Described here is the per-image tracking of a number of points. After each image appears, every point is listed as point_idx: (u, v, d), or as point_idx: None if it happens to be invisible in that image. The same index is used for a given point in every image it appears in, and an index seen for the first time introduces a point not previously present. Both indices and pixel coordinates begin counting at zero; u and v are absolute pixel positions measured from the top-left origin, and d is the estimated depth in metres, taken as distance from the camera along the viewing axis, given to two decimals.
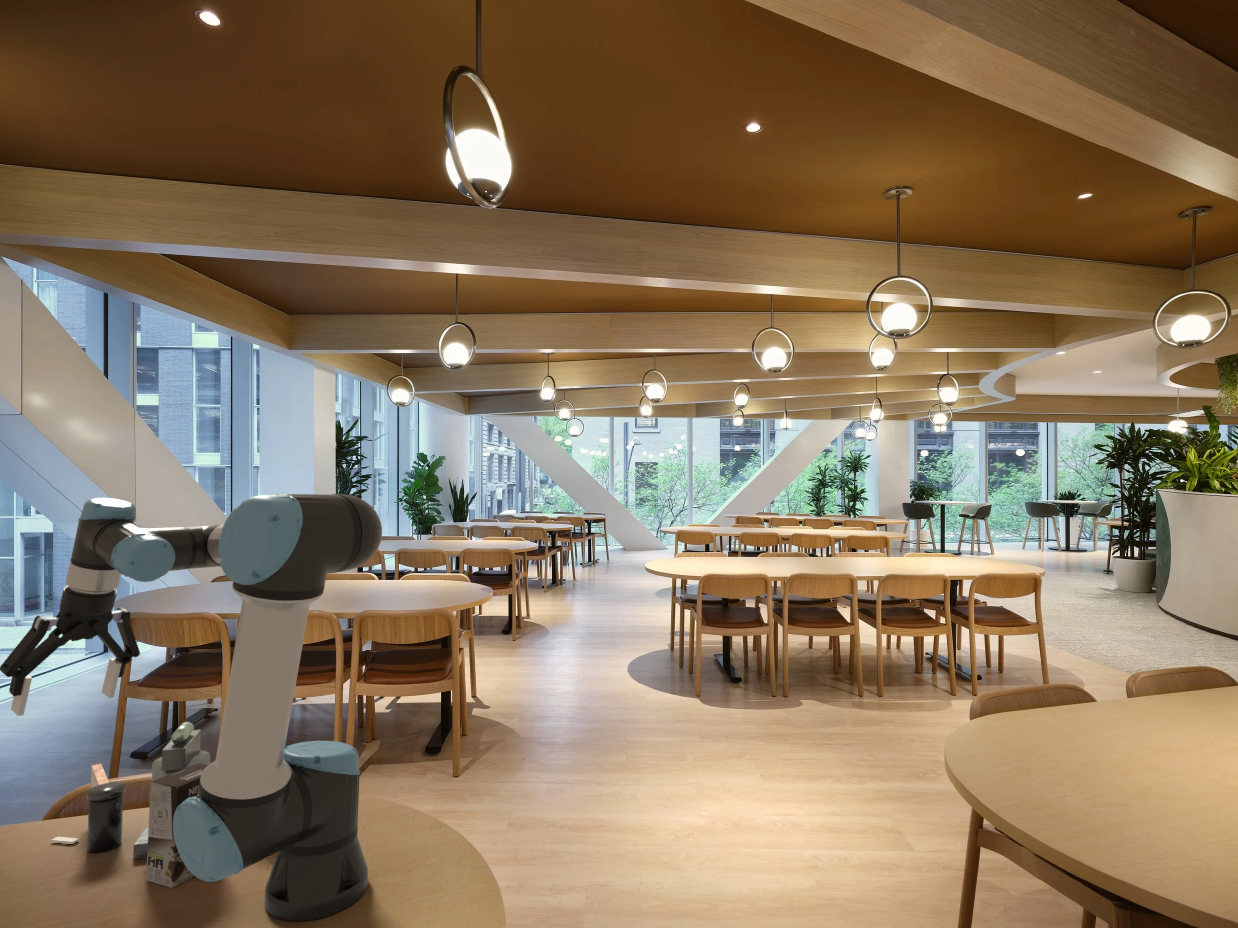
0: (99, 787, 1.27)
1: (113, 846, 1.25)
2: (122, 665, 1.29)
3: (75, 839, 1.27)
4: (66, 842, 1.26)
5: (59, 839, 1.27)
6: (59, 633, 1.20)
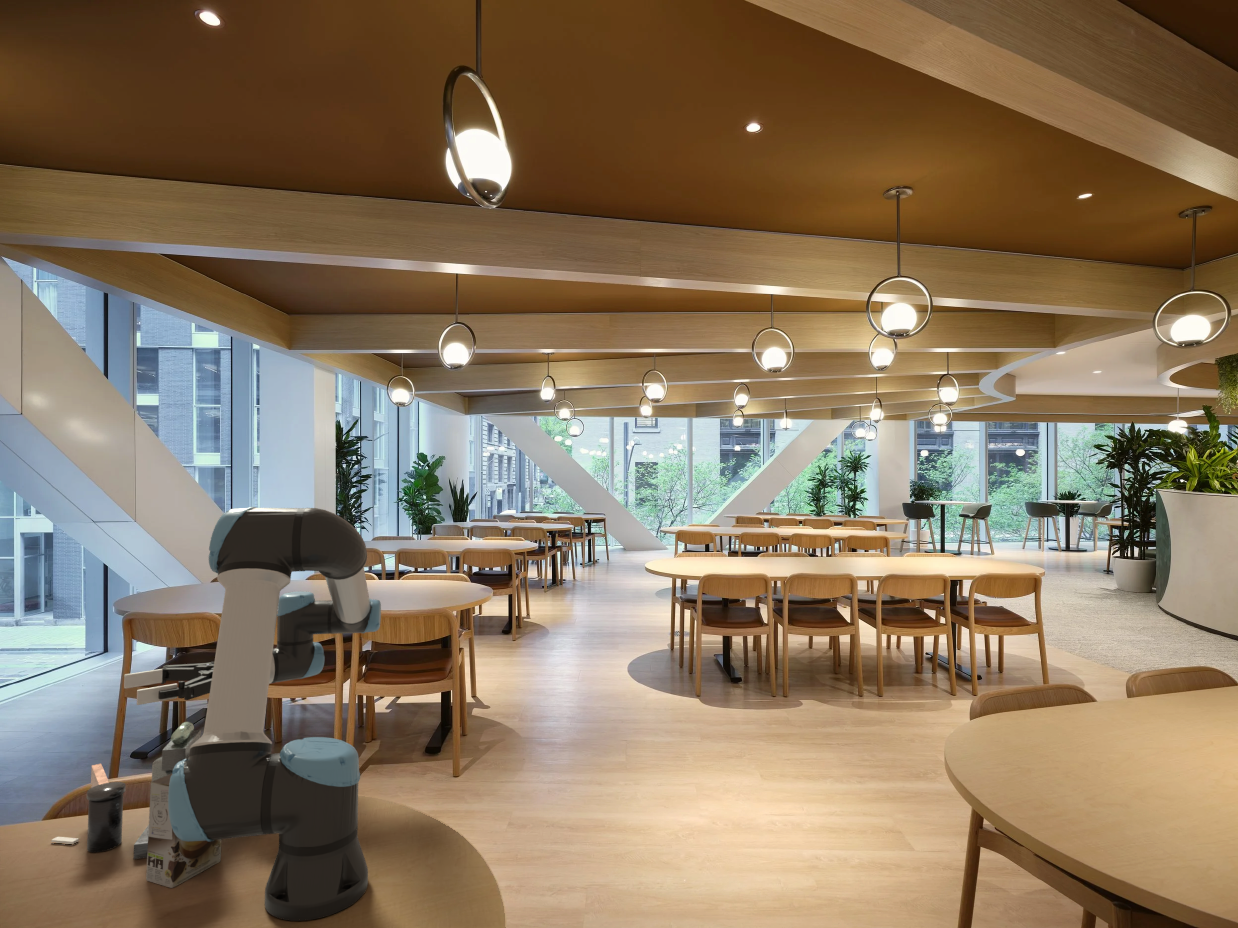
0: (99, 787, 1.27)
1: (113, 846, 1.25)
2: (173, 689, 1.37)
3: (75, 839, 1.27)
4: (66, 842, 1.26)
5: (59, 839, 1.27)
6: None
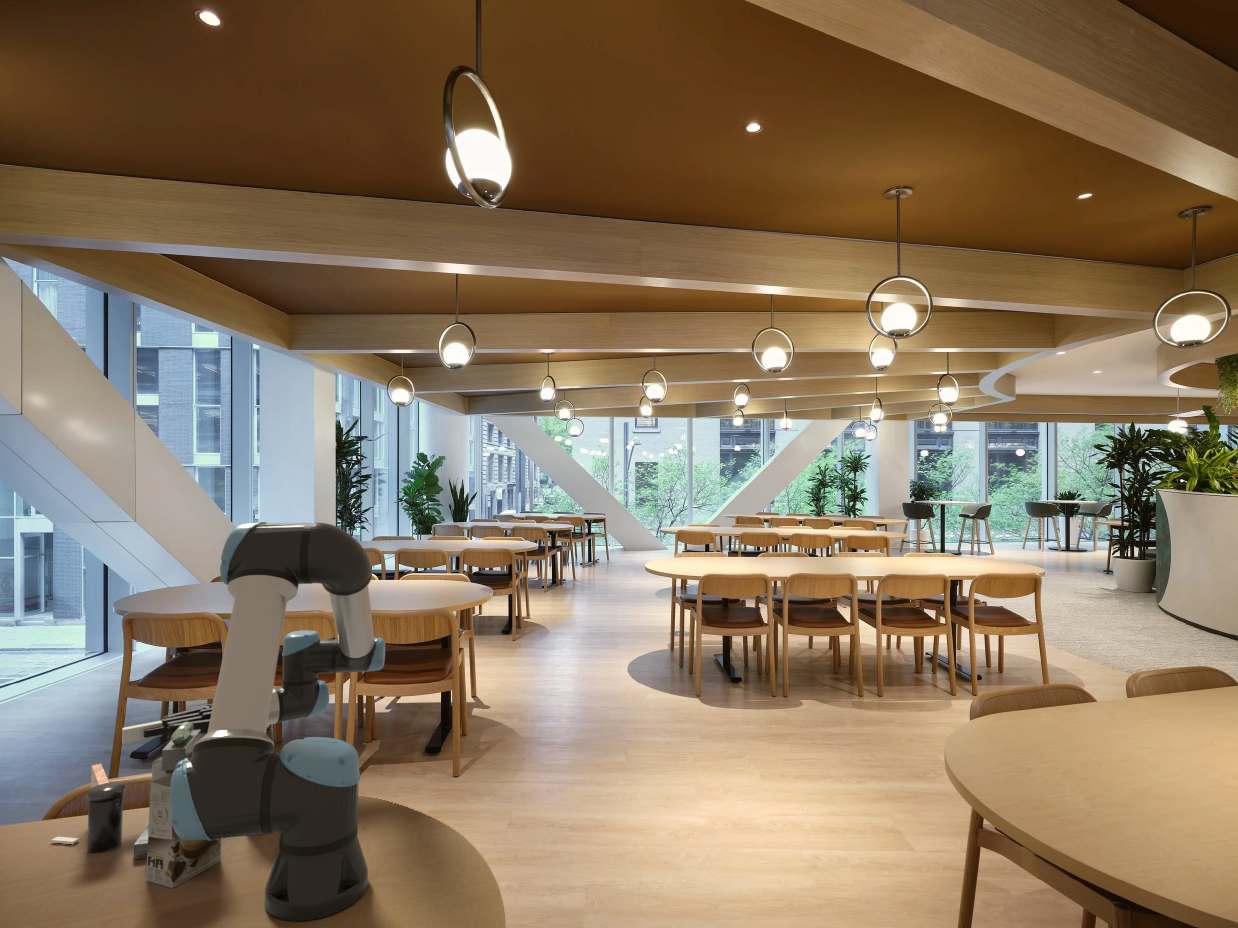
0: (99, 787, 1.27)
1: (113, 846, 1.25)
2: (158, 727, 1.41)
3: (75, 839, 1.27)
4: (66, 842, 1.26)
5: (59, 839, 1.27)
6: None
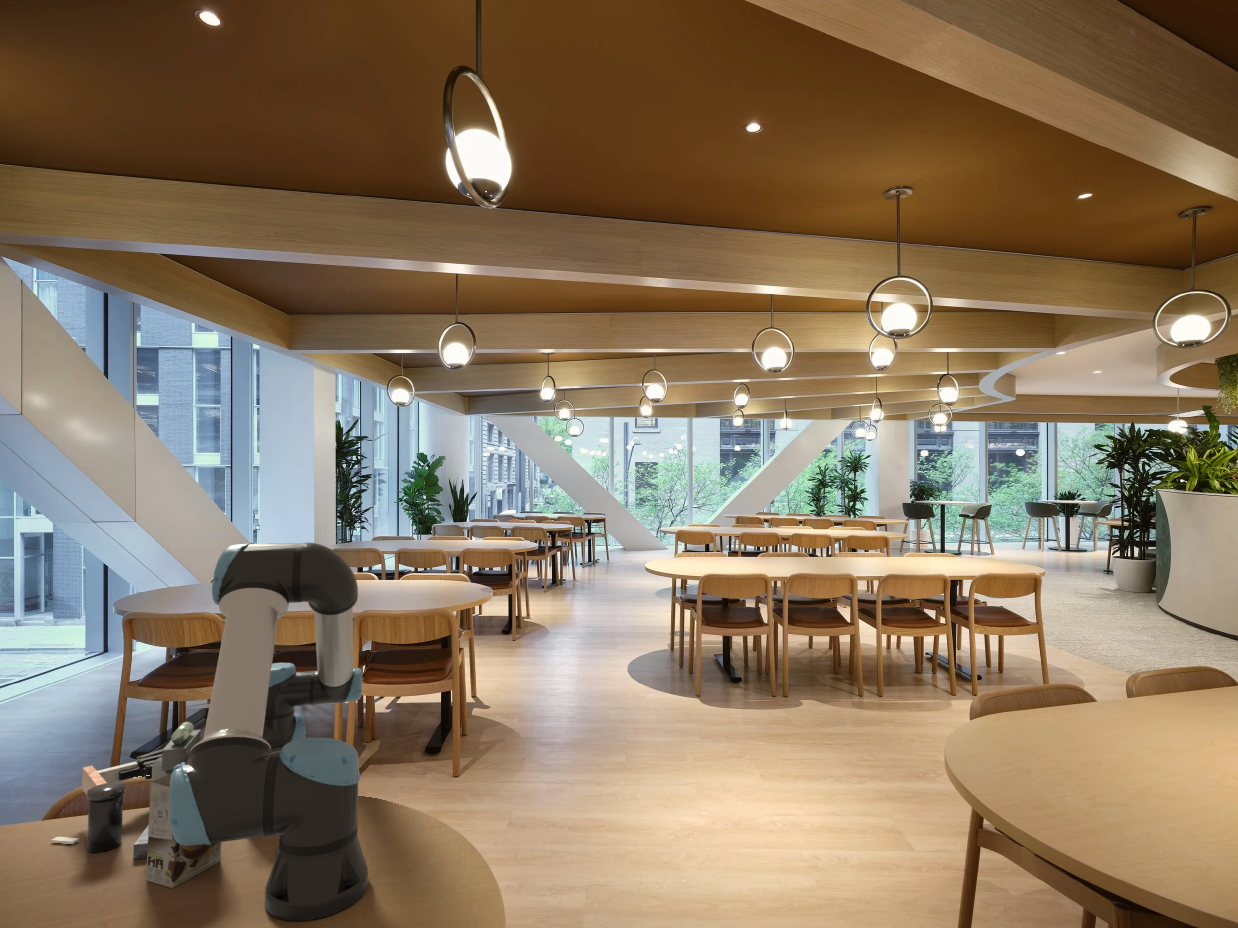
0: (98, 787, 1.26)
1: (114, 845, 1.25)
2: (133, 768, 1.38)
3: (75, 839, 1.27)
4: (66, 842, 1.26)
5: (59, 839, 1.27)
6: None
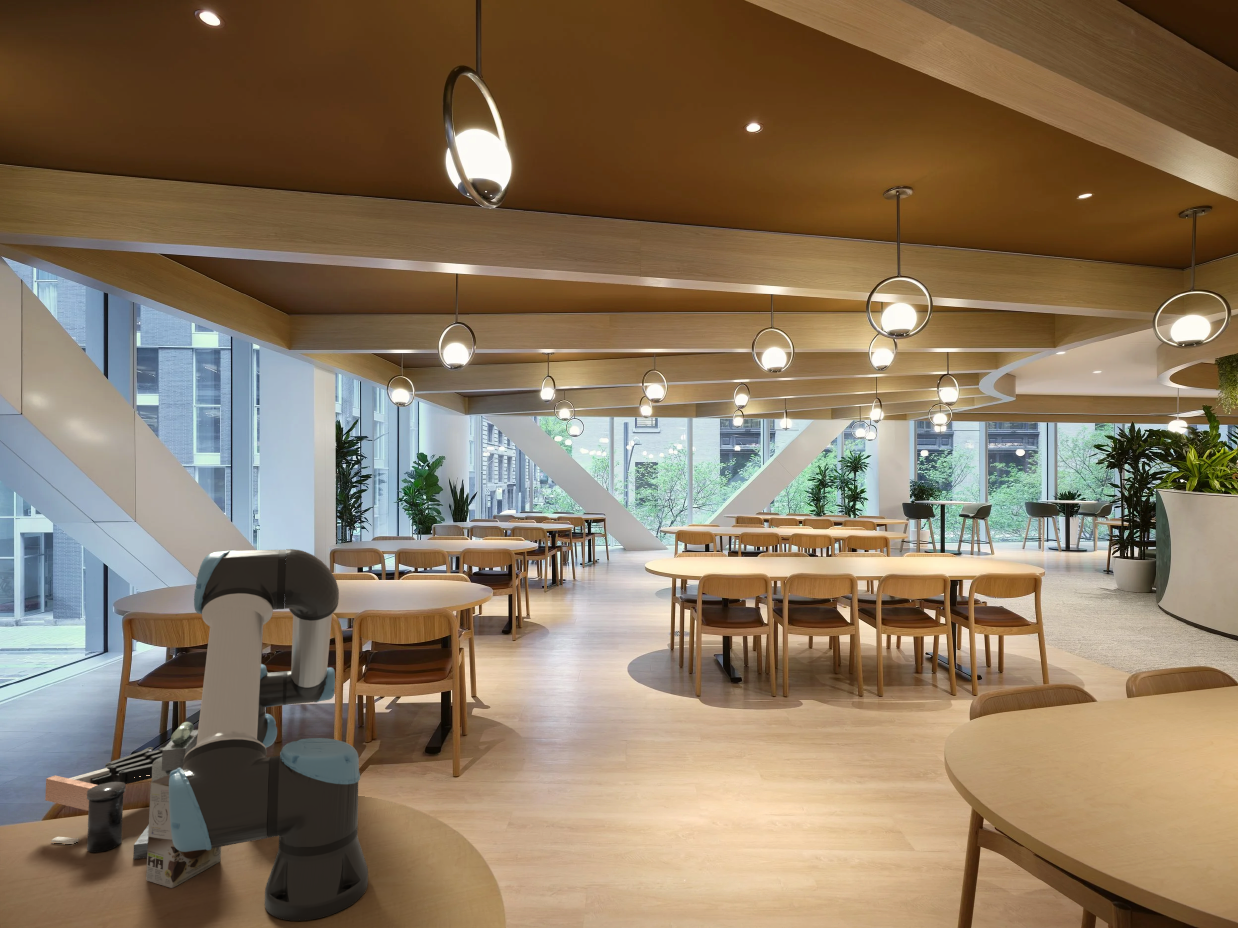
0: (95, 788, 1.26)
1: (119, 843, 1.26)
2: (106, 775, 1.35)
3: (75, 839, 1.27)
4: (66, 842, 1.26)
5: (59, 839, 1.27)
6: None
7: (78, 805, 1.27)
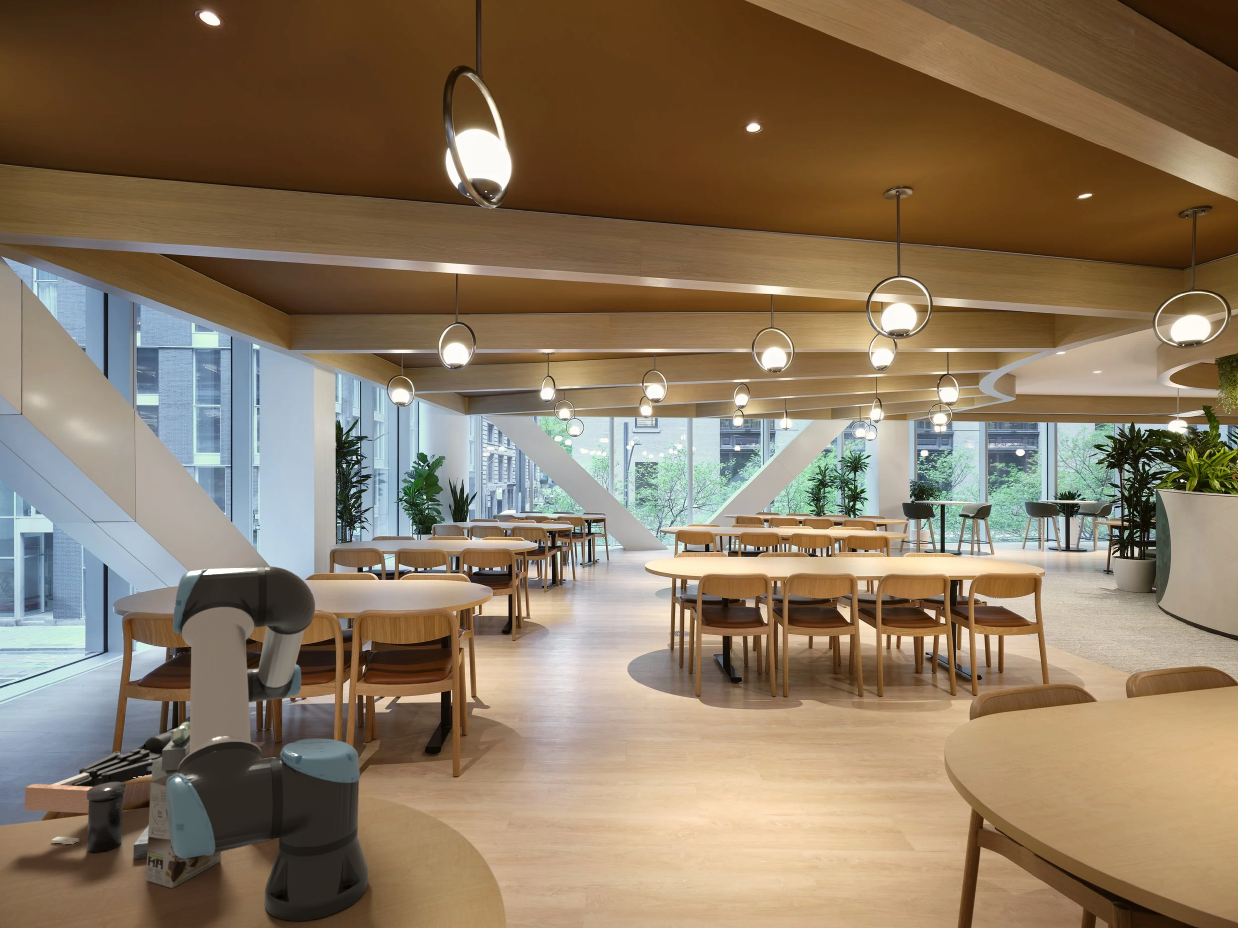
0: (94, 790, 1.25)
1: (121, 841, 1.27)
2: (87, 779, 1.33)
3: (75, 839, 1.27)
4: (66, 842, 1.26)
5: (59, 839, 1.27)
6: None
7: (71, 809, 1.26)
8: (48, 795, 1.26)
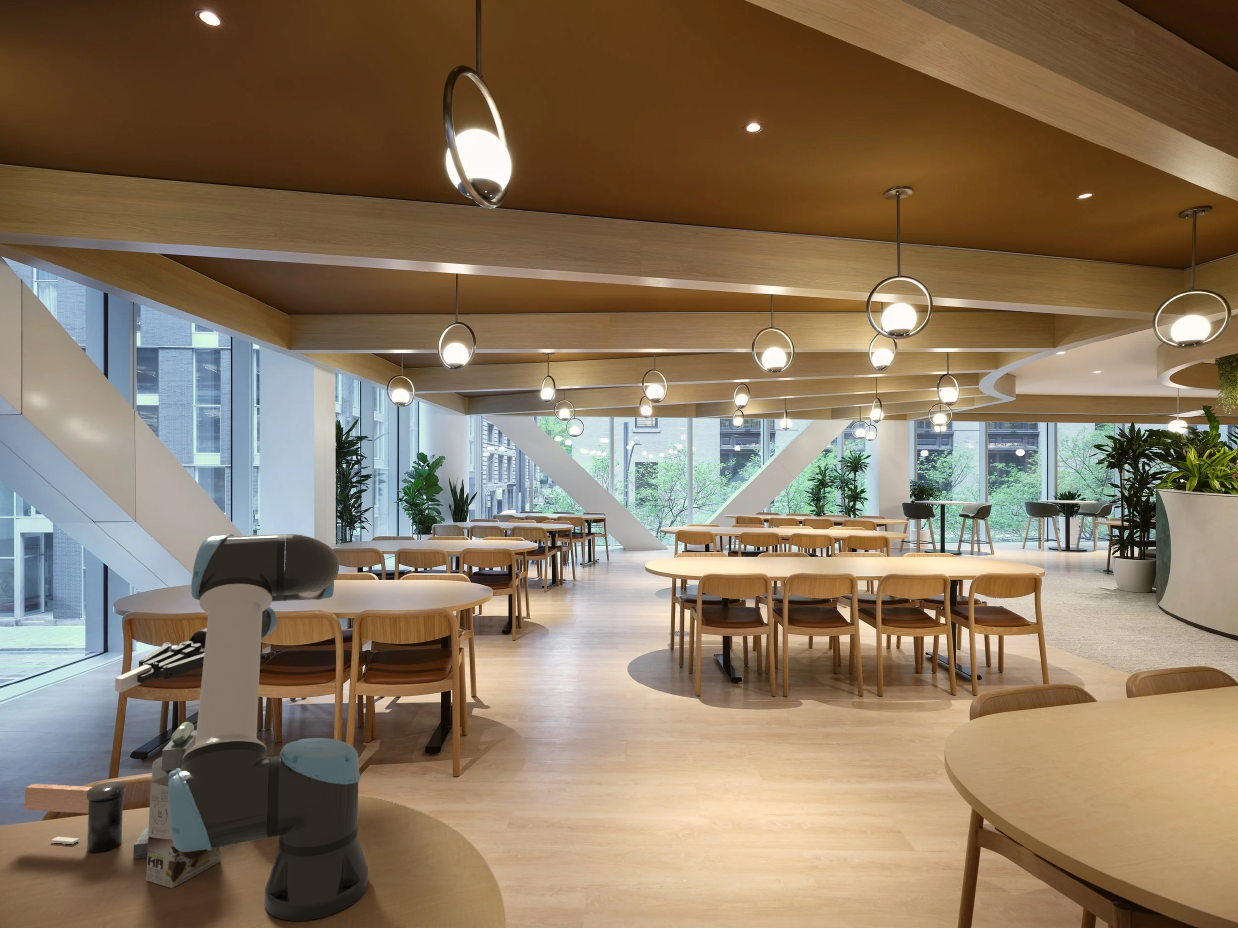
0: (94, 790, 1.25)
1: (121, 841, 1.27)
2: (150, 671, 1.41)
3: (75, 839, 1.27)
4: (66, 842, 1.26)
5: (59, 839, 1.27)
6: None
7: (71, 809, 1.26)
8: (48, 795, 1.26)
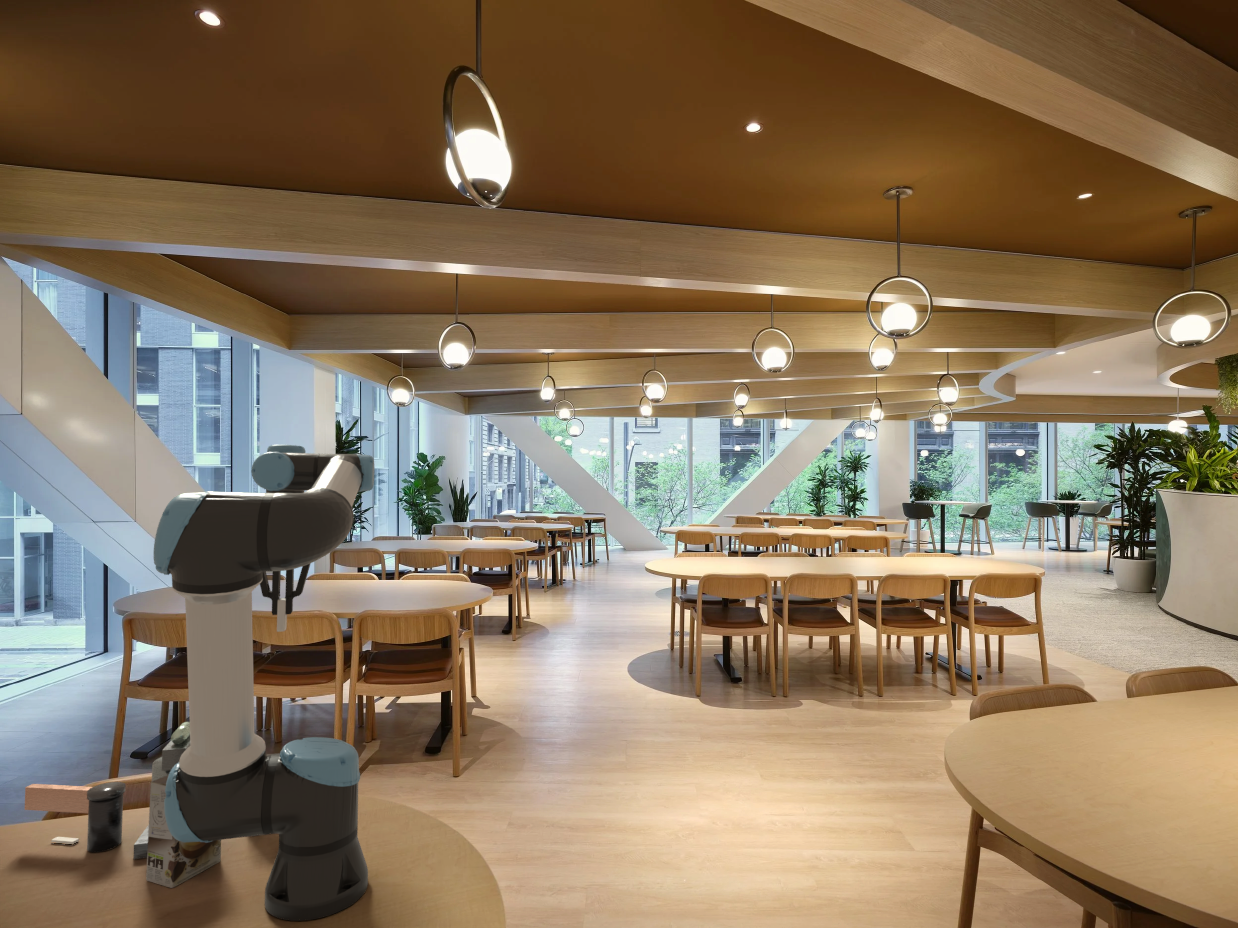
0: (94, 790, 1.25)
1: (121, 841, 1.27)
2: (289, 603, 1.48)
3: (75, 839, 1.27)
4: (66, 842, 1.26)
5: (59, 839, 1.27)
6: None
7: (71, 809, 1.26)
8: (48, 795, 1.26)
